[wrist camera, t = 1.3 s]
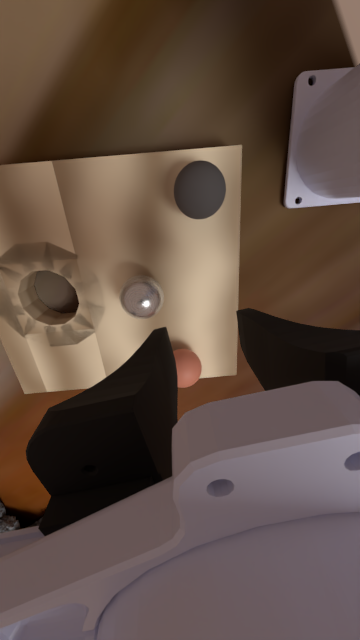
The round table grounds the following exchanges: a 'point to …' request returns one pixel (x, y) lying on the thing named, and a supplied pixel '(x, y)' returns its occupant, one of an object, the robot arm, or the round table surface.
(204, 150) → the plate
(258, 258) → the round table surface
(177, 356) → the brick-red wooden ball
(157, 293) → the steel ball
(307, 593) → the robot arm
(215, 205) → the black rubber ball
